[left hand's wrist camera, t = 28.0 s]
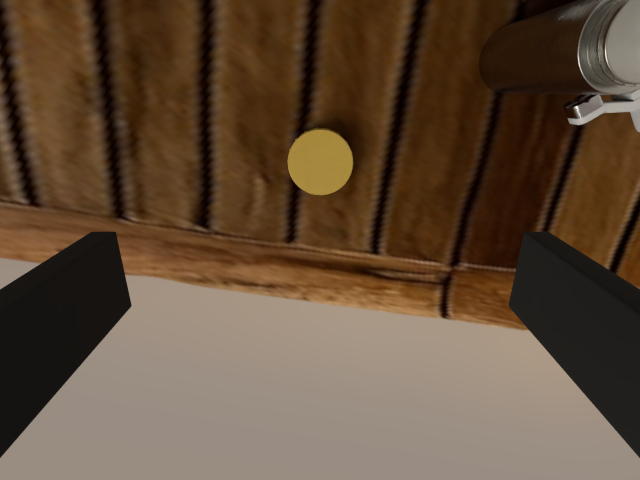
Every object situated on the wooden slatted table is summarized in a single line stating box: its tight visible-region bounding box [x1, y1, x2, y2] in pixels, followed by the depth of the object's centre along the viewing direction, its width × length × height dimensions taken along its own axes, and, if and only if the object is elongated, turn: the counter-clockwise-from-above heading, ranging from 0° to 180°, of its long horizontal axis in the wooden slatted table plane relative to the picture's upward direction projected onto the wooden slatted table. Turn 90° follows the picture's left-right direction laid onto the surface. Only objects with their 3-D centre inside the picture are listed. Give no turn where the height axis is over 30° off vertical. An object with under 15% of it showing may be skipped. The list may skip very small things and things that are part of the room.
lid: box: [287, 127, 354, 195], centre depth 35 cm, size 6×6×2 cm
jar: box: [479, 0, 640, 95], centre depth 26 cm, size 5×5×15 cm
